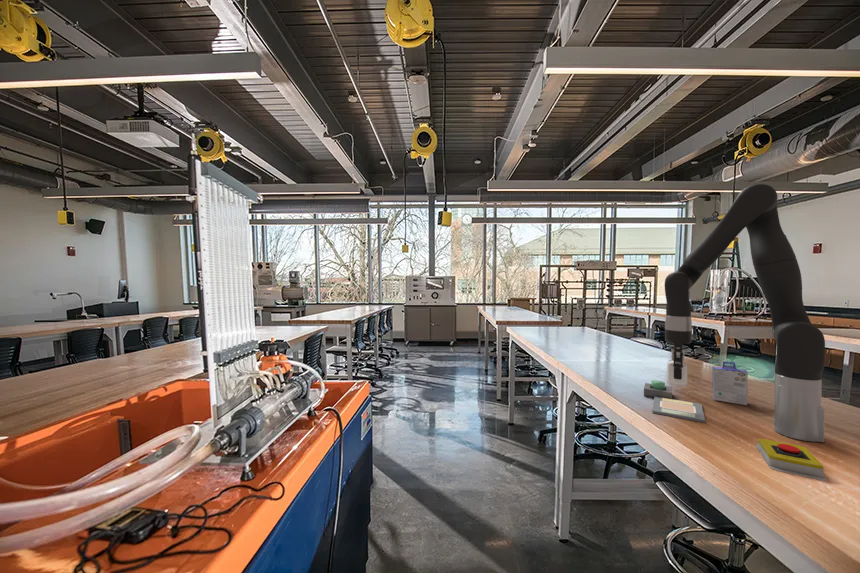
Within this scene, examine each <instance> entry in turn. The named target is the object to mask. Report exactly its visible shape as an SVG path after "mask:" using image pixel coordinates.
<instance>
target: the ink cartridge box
mask: <svg viewBox="0 0 860 573" xmlns="http://www.w3.org/2000/svg"><path fill="white" fill-rule="evenodd" d="M728 364H729V365H728ZM711 368H712V369H711V372H712V376H711V377H712V380H711V381H712V384H711V385H712V390H711V391H712V395H711V396H712V400H713V401H717V402H718V401H720V402H725V403H729V404H737V405H738V404H739V405H744V406H748V392H749V391H748V381H749V380H748V375H749V374H748V373H749V372H748V371H747V370H746V369H742V368H737V366H736V362H733V361H732V362H731V361H722V366H712V367H711Z"/></svg>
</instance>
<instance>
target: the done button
mask: <svg viewBox="0 0 860 573" xmlns="http://www.w3.org/2000/svg"><path fill="white" fill-rule="evenodd" d="M650 384H651V388H652V389H659V390H665V386H666V383H665V381H662V380H657V379H655V380H654V379H653V380H651V381H650Z"/></svg>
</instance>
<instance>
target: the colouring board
mask: <svg viewBox="0 0 860 573" xmlns="http://www.w3.org/2000/svg"><path fill="white" fill-rule="evenodd" d="M702 405H703V404H702V403H698V402H692V401H687V400H686V401H685V400H681V399H674V398H672V399H669V398H663V397H656V396H654V398H653V405H652V412H651V413H652V414H657V415H662V416H668V417H672V418H678V419H683V420H688V421H692V422H699V423H704V424H706V417H705V413H704V410H703V406H702Z"/></svg>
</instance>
